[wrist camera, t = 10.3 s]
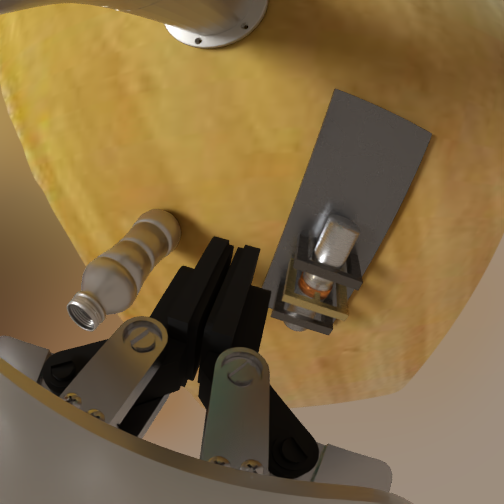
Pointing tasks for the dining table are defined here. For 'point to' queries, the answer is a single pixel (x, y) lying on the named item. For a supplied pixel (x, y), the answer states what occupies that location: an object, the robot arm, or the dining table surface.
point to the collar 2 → (300, 320)
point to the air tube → (325, 262)
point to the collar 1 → (304, 264)
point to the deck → (351, 182)
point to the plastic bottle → (123, 269)
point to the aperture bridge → (315, 297)
